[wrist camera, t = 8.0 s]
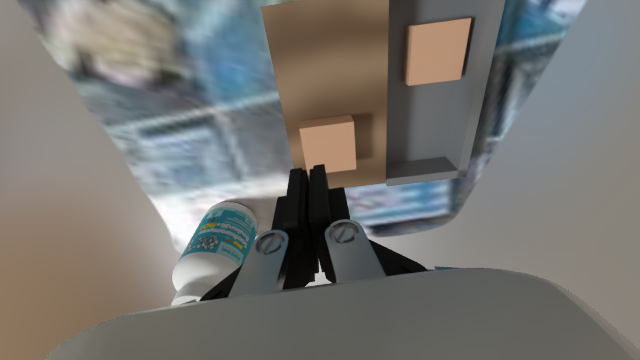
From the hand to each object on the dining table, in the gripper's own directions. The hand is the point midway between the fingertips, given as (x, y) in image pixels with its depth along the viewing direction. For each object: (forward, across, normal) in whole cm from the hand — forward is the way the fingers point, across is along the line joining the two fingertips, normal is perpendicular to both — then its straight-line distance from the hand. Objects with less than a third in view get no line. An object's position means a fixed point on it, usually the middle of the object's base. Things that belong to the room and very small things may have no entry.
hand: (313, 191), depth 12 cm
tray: (+18, -12, +1) cm, 21 cm away
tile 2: (+15, -12, -3) cm, 20 cm away
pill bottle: (+18, +14, +14) cm, 27 cm away
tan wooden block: (+18, -2, 0) cm, 18 cm away
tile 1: (+14, -1, +3) cm, 14 cm away
